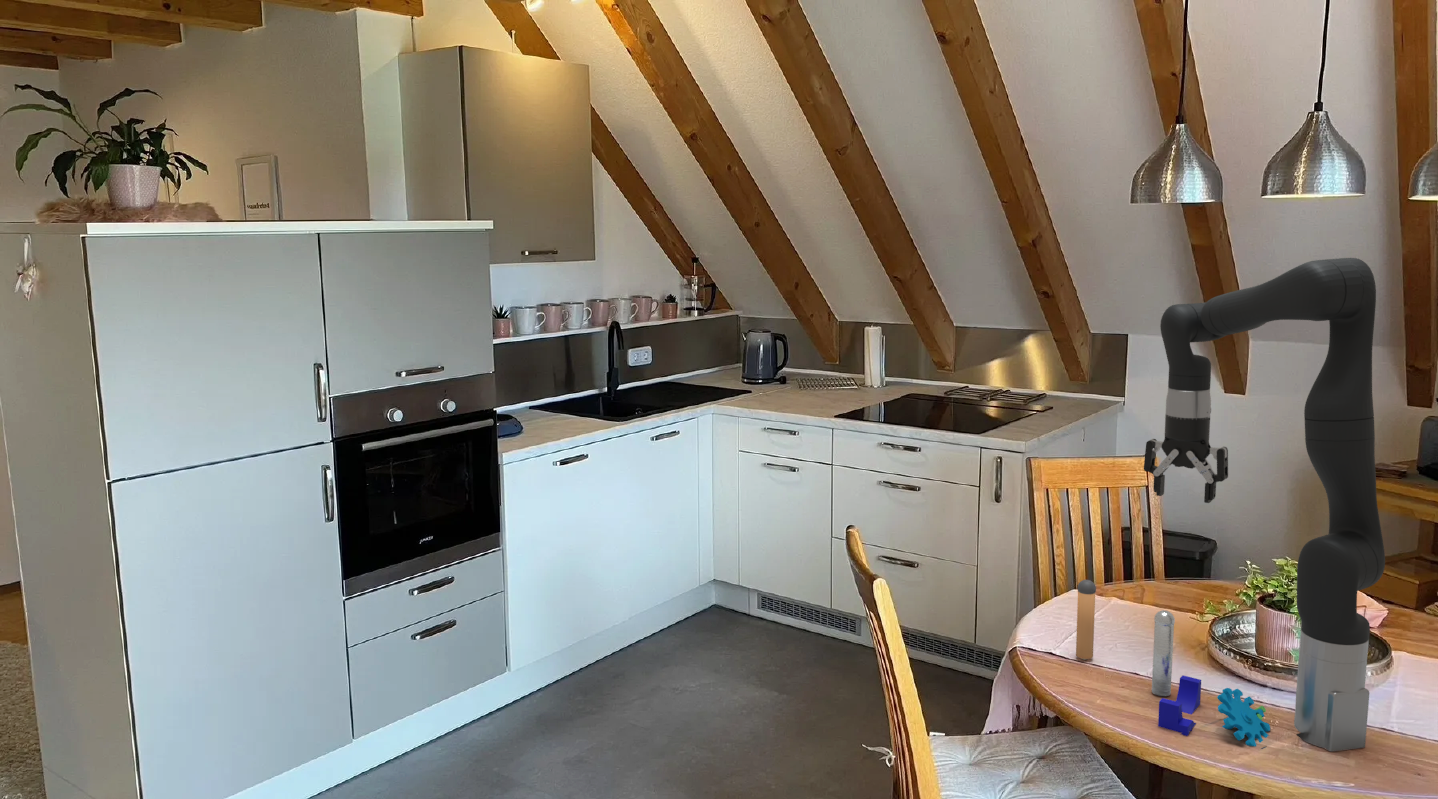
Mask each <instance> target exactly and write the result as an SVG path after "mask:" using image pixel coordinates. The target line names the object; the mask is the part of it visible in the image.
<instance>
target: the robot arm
mask: <svg viewBox="0 0 1438 799" xmlns="http://www.w3.org/2000/svg"><path fill="white" fill-rule="evenodd" d="M1376 299H1377V287H1376V282H1375V277H1374V274H1373V272H1372V269H1371V267H1370V266H1369V265H1368V263H1366V262H1365V261H1364V260H1363V259H1360V258H1357V257H1339V258H1328V259H1327V258H1326V259H1315V260H1311V261H1307V262H1304V263H1302V264H1299V265H1298V266H1296V267H1293V268H1292V269H1290V270H1289V269H1288V270H1287V271H1286V272H1284V273H1282V274H1280V275H1278V276H1277V277H1275V278H1273V279H1270V280H1268V281H1265V282H1263V283H1261V284H1258V285H1254V286H1252V287H1246V288H1243V289H1238V290H1234V291H1230V292H1227V293H1222V294H1219V295H1216V296H1214V297H1212V298H1210V299H1208V300H1207V301H1206V302H1195V303H1177V304H1173V305H1170V306H1169V307H1167V308H1166V309H1165V310H1164V312H1163V313H1162V316H1161V319H1160V326H1159V327H1160V334H1161V337H1162V341H1163V346H1164V349H1165V350H1164V351H1165V355H1166V357H1167V358H1166V359H1167V364H1168V383H1167V384H1168V386H1167V387H1168V388H1167V394H1166V399H1165V416H1164V418H1165V420H1164V439H1163V441H1160V440H1157V439H1156V438H1151V439H1150V440H1148V441H1146V442H1145V451H1144V452H1145V453H1144V461H1143V471H1144V472H1146V473H1147V472H1148V473H1150V474H1151V475H1153V492H1154V493H1155V494H1156V496H1157V497H1162V496H1164V494H1165V484H1166V483H1165V480H1166V475H1165V472H1166V471H1167V470H1168V469H1169V468H1170V467H1171V466H1172V465H1173V466H1174V467H1176V468H1177V467H1178V468H1183V467H1184V468H1187V469H1191V470H1192V469H1196V470H1197V471H1198V473H1199V474H1201V475H1202V476H1203V479H1204V480H1205V483H1204V501H1203V502H1204V503H1205V504H1210V503H1212V501H1214V500H1215V499H1216V495H1217V494H1216V493H1217V483H1218V482H1224V481H1225V480H1226V479H1228V478H1229V449H1228V447H1227V446H1222V447H1211V445H1210V427H1211V414H1212V398H1211V397H1212V395H1211V379H1212V375H1211V374H1212V363H1211V360H1210V359H1209V357H1206V356H1204V355H1199V354H1194V352H1193V350H1192V346H1191V344H1192V343H1204V342H1211V341H1215V340H1219V339H1222V338H1224V337H1226V336H1230V335H1235V334H1239V333H1243V332H1247V331H1251V330H1254V329H1257V328H1260V327H1262V326H1264V325H1265V324H1267V323H1270V322H1274V321H1283V320H1284V321H1285V320H1289V321H1313V322H1325V321H1326V322H1327V321H1329V342H1328V350H1327V355H1326V356H1325V360H1324V362H1323V365H1322V367H1321V369H1320V371H1319V373H1318V374H1317V376H1316V379H1315V380H1314V382H1313V385H1312V386H1311V389H1310V391H1309V393H1308V395H1307V398H1306V401H1305V405H1304V410H1303V411H1304V412H1303V414H1304V415H1303V416H1304V417H1303V418H1304V437H1305V438H1304V440H1305V448H1306V452H1307V455H1308V458H1309V460H1310V463H1311V465H1312V466H1313V468H1314V470H1315V472H1316V474H1317V476H1318V478H1319V480H1320V481H1321V484H1322V485H1323V488H1324V491H1325V493H1326V496H1327V501H1328V502H1327V503H1328V513H1329V514H1328V516H1329V517H1328V518H1329V519H1328V520H1329V521H1328V522H1329V523H1328V524H1329V526H1328V534H1324V535H1321V536H1318V537H1315V538H1313V539H1311V540H1309V541H1308V542H1306V543H1305V544H1304V545H1303V547H1302V548H1301V551H1300V553H1299V555H1298V559H1297V569H1296V571H1297V572H1296V608H1297V609H1296V610H1297V613H1298V615H1299V618H1300V634H1299V636H1300V638H1299V649H1298V663H1297V664H1298V665H1297V678H1296V679H1297V680H1296V692H1295V704H1294V705H1295V706H1294V721H1293V722H1294V724H1293V725H1294V727H1295V729H1296V731H1298V732H1299V733H1296V736H1297V737H1298V738H1299V739H1300V740H1303V741H1304V742H1306V743H1309V744H1311V745H1314V746H1317V747H1319V748H1323V749H1325V750H1327V751H1328V752H1338V751H1347V750H1355V749H1364V748H1366V739H1367V727H1368V715H1369V703H1370V702H1369V701H1370V690H1369V689H1367V688H1366V676H1367V666H1368V664H1367V662H1368V653H1369V640H1370V629H1371V627H1370V626H1371V625H1370V622H1369V620H1368V618H1366V617H1365V616H1364V615H1362V614H1360V613H1358V608H1357V605H1358V592H1359V591H1362V590H1365V589H1367V588H1371V587H1372V586H1374V585H1375V584H1376V583H1378V582H1379V580H1380V579H1381V578H1382V577H1383V574H1384V572H1385V567H1386V556H1385V555H1386V554H1385V553H1386V552H1385V546H1384V538H1383V532H1382V527H1381V521H1380V514H1379V508H1378V499H1377V477H1376V476H1377V473H1376V458H1375V456H1376V455H1375V451H1376V450H1375V446H1376V444H1375V442H1376V436H1375V435H1376V434H1375V412H1374V400H1373V397H1374V396H1373V341H1374V330H1375V318H1376V317H1375V316H1376V305H1377V300H1376ZM1160 449H1162V451H1163V453H1164V454H1165V455H1166V457H1165V458H1164V459H1163V460H1162V461H1161V462H1160V464H1159V465H1158V466H1157V465H1156V456H1157V453H1158V452H1159V451H1160ZM1210 454H1211V455H1212V456H1213V459H1214V460H1216V472H1215V471H1214V469H1213V468H1212V465H1211V463H1210V462H1209V461H1208V459H1207V458H1208V457H1209V455H1210Z"/></svg>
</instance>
